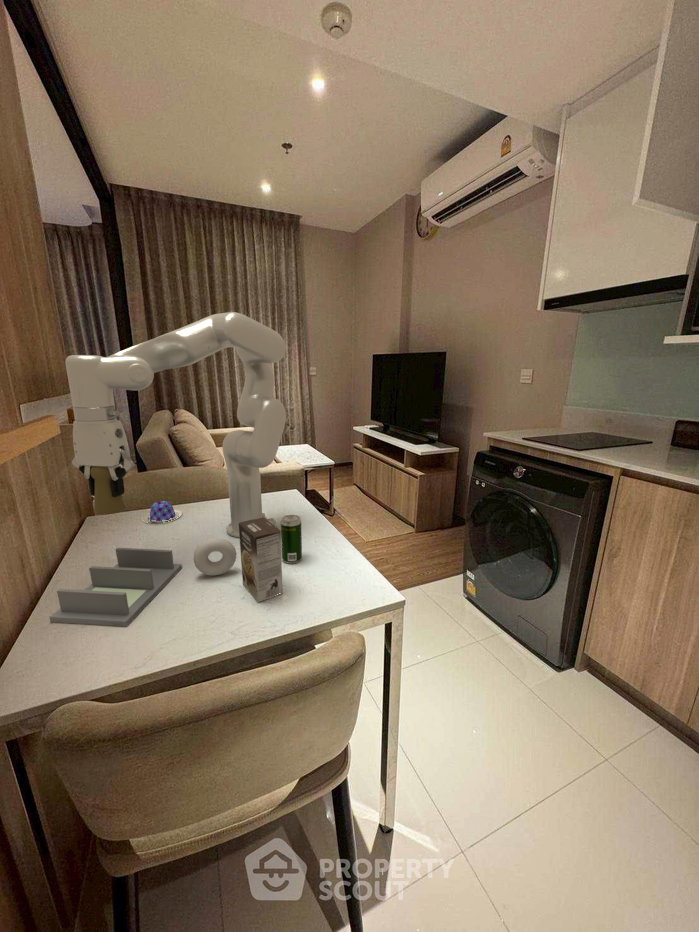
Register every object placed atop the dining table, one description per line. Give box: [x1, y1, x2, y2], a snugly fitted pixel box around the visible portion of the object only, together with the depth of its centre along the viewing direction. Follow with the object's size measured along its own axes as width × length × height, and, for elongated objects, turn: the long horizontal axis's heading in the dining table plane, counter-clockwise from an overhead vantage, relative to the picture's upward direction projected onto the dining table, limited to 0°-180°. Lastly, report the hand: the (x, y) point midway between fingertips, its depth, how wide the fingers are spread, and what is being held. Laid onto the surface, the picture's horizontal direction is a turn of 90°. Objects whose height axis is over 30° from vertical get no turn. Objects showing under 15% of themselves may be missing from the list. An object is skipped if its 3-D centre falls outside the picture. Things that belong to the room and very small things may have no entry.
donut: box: [193, 537, 238, 576], centre depth 91 cm, size 10×4×10 cm, turn 109°
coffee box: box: [238, 517, 283, 603], centre depth 85 cm, size 9×6×16 cm
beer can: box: [280, 514, 303, 565], centre depth 99 cm, size 5×5×12 cm
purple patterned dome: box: [142, 500, 183, 524], centre depth 125 cm, size 12×12×5 cm
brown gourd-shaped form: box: [90, 466, 126, 516], centre depth 84 cm, size 6×6×11 cm
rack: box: [49, 547, 183, 628], centre depth 84 cm, size 16×22×6 cm
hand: (107, 493), depth 85 cm, fingers closed on brown gourd-shaped form, 4 cm apart
